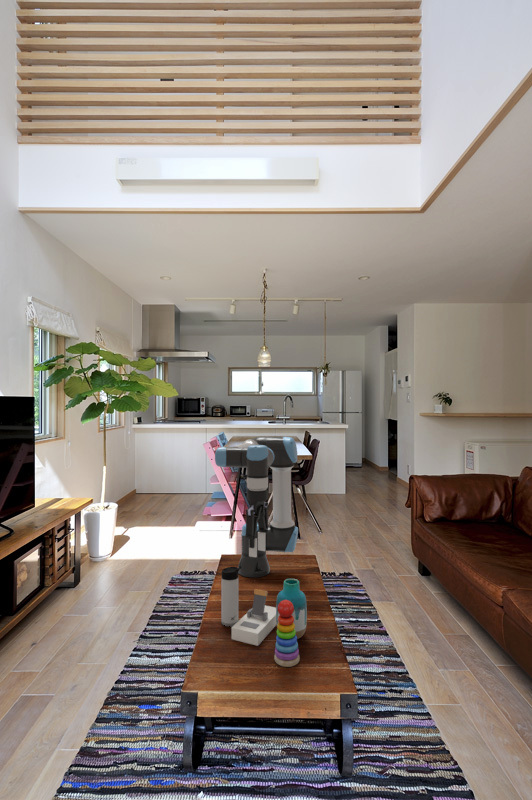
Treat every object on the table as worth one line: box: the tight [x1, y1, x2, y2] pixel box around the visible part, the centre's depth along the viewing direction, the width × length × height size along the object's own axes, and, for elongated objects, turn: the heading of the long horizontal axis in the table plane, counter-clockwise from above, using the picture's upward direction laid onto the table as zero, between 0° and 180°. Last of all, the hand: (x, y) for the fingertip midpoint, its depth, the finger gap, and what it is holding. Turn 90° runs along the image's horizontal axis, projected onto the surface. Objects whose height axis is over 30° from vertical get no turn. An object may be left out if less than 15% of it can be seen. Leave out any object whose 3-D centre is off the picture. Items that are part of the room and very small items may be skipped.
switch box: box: [231, 604, 277, 647], centre depth 162 cm, size 20×10×6 cm, turn 155°
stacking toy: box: [273, 600, 301, 668], centre depth 143 cm, size 8×8×19 cm
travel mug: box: [220, 566, 240, 627], centre depth 167 cm, size 6×7×20 cm
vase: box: [275, 578, 308, 640], centre depth 157 cm, size 11×11×19 cm
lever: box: [251, 588, 269, 618], centre depth 164 cm, size 2×4×9 cm, turn 65°
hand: (257, 553), depth 162 cm, fingers open, 6 cm apart
